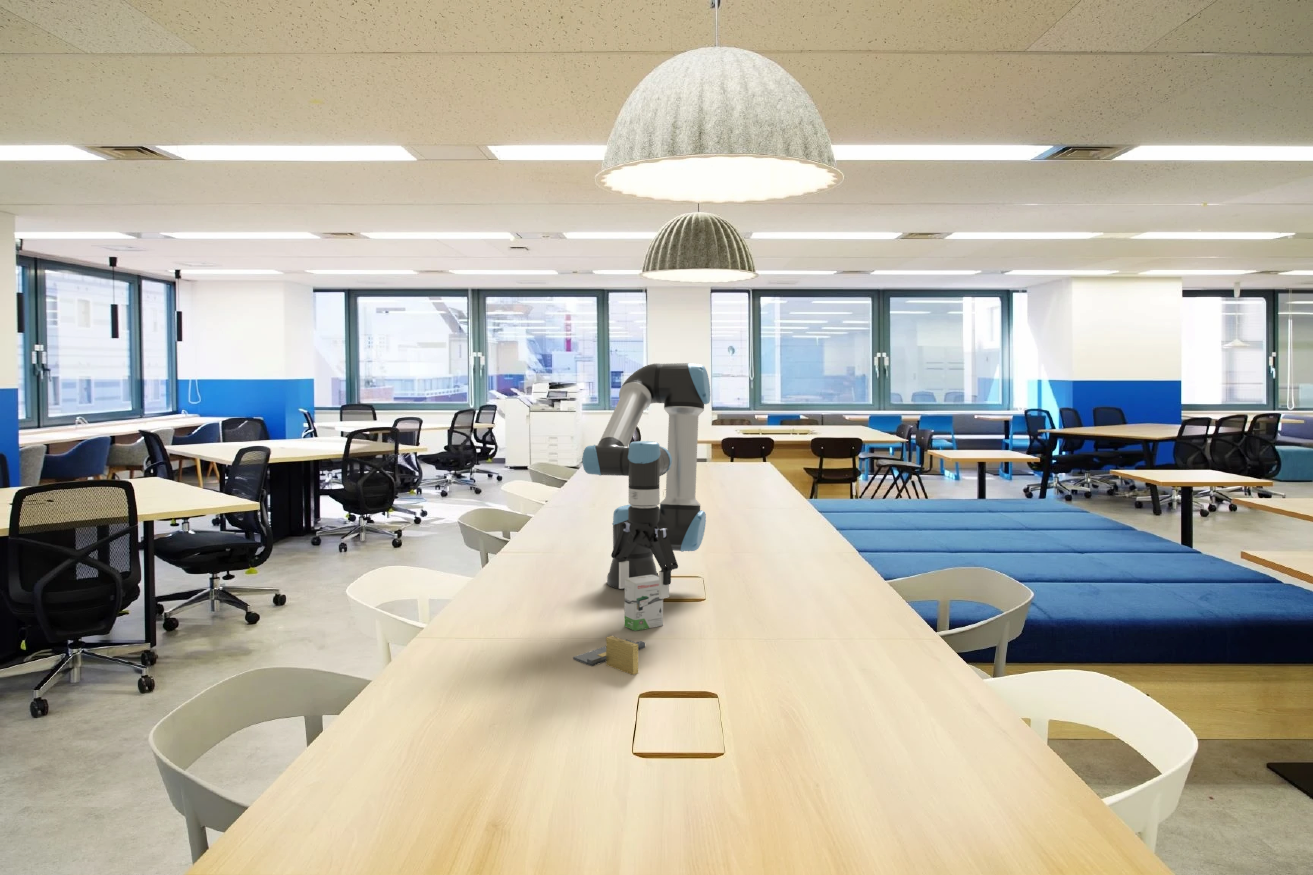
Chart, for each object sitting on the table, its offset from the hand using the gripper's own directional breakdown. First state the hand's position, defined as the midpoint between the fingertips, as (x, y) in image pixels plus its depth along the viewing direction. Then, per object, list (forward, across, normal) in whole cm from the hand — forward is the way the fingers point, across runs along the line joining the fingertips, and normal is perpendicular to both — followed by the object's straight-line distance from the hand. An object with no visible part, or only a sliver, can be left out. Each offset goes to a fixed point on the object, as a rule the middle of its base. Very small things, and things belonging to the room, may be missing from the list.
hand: (643, 592), depth 194 cm
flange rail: (+9, +13, -18) cm, 24 cm away
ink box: (+8, 0, 0) cm, 9 cm away
